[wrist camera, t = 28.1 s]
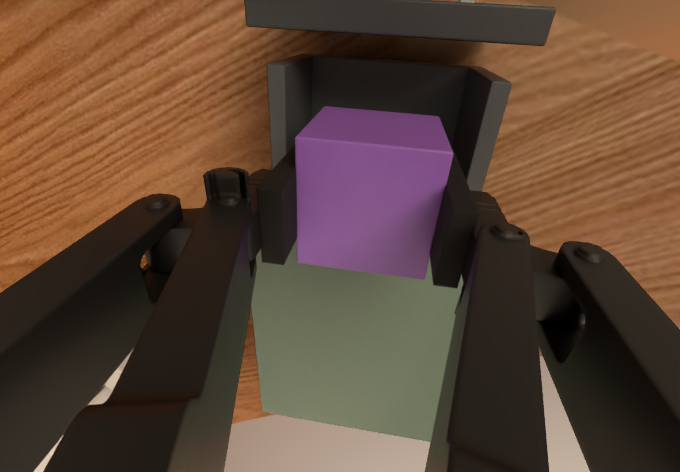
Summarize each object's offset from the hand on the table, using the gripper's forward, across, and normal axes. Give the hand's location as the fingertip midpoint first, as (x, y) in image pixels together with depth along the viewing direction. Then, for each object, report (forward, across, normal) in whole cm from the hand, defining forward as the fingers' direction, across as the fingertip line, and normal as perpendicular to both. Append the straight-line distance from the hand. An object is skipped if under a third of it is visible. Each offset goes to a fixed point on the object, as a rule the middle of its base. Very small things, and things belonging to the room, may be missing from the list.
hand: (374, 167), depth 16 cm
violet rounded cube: (0, 0, 0) cm, 0 cm away
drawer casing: (+8, 0, -12) cm, 14 cm away
